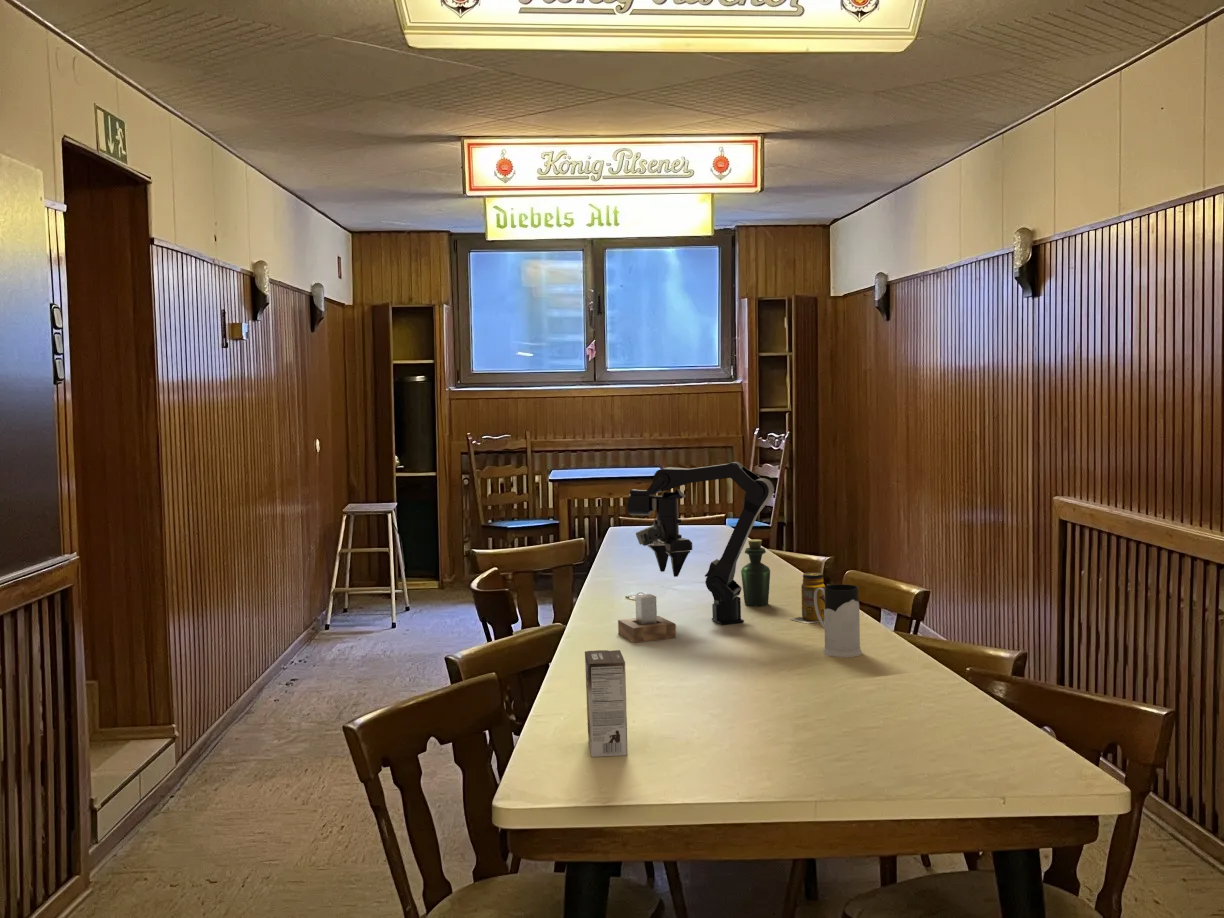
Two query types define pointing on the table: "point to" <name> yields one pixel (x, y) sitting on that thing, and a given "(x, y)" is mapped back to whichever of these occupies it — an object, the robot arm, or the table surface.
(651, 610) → the grey long rectangular block
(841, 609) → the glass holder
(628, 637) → the block
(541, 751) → the table surface
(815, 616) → the condiment
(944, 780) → the table surface
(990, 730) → the table surface
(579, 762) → the table surface
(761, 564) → the potion bottle
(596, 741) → the coffee box
